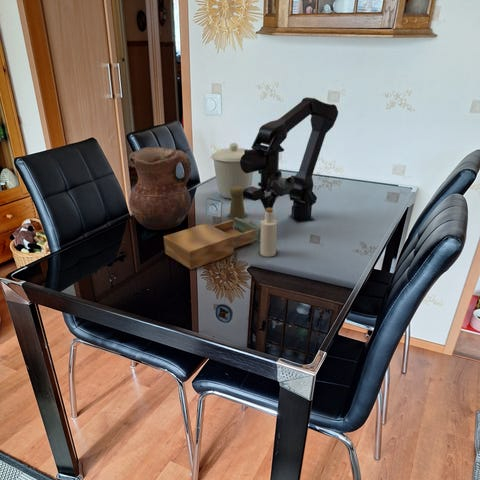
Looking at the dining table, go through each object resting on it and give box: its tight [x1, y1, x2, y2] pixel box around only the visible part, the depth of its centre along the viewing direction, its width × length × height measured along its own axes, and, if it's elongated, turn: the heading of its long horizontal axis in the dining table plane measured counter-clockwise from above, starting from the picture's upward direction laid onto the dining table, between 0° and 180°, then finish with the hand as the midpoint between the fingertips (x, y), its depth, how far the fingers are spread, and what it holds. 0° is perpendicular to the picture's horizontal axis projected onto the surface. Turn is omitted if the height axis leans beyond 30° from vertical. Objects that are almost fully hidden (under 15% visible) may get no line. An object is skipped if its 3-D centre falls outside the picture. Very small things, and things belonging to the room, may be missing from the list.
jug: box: [128, 146, 192, 231], centre depth 151 cm, size 22×21×25 cm
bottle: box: [259, 207, 278, 258], centre depth 133 cm, size 5×5×14 cm
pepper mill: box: [229, 186, 246, 220], centre depth 161 cm, size 6×6×11 cm
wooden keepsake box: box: [163, 223, 235, 270], centre depth 135 cm, size 16×14×6 cm
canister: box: [211, 142, 254, 200], centre depth 177 cm, size 18×18×21 cm
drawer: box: [212, 217, 261, 249], centre depth 143 cm, size 20×13×4 cm
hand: (268, 213), depth 149 cm, fingers closed
